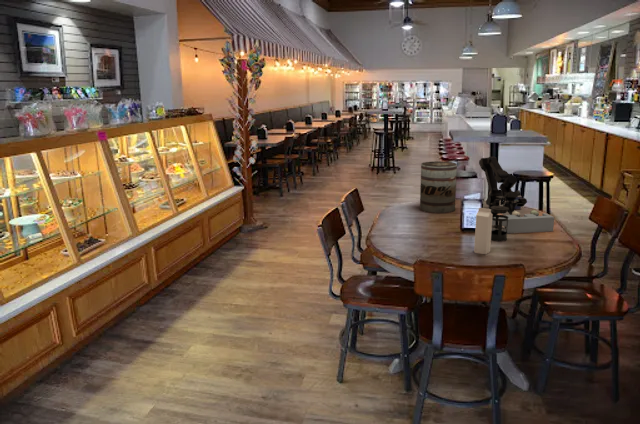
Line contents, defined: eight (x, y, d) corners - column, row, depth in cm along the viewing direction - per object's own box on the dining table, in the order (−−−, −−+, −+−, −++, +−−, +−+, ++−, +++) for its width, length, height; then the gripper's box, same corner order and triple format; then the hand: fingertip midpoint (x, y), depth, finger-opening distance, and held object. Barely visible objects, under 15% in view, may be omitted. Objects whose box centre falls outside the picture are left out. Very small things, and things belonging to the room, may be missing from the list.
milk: (478, 249, 257) (480, 206, 252) (490, 251, 254) (493, 207, 248) (473, 252, 252) (476, 208, 247) (486, 254, 249) (488, 210, 244)
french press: (506, 236, 277) (509, 194, 272) (510, 241, 268) (513, 198, 263) (483, 235, 279) (486, 194, 274) (486, 240, 270) (489, 198, 265)
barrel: (413, 210, 337) (414, 164, 329) (429, 203, 354) (431, 160, 346) (445, 215, 323) (447, 167, 316) (460, 208, 340) (462, 163, 333)
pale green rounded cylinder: (530, 216, 296) (530, 210, 295) (536, 216, 296) (536, 209, 295) (534, 218, 291) (534, 212, 290) (540, 218, 292) (540, 211, 291)
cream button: (511, 217, 295) (512, 211, 294) (517, 216, 295) (518, 210, 294) (515, 219, 290) (516, 213, 289) (521, 218, 291) (522, 212, 290)
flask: (520, 208, 335) (521, 192, 333) (521, 210, 333) (522, 193, 330) (505, 209, 336) (506, 192, 333) (507, 210, 333) (508, 193, 330)
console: (490, 229, 290) (491, 215, 288) (544, 226, 293) (545, 213, 292) (497, 234, 282) (498, 219, 280) (553, 231, 285) (554, 217, 283)
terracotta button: (496, 219, 290) (496, 213, 289) (502, 219, 291) (502, 213, 290) (499, 221, 286) (500, 215, 285) (505, 221, 286) (506, 215, 285)
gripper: (495, 185, 296) (501, 210, 289) (527, 184, 297) (534, 208, 290) (489, 195, 306) (495, 218, 299) (520, 194, 307) (526, 217, 300)
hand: (512, 215), depth 296 cm, fingers closed
